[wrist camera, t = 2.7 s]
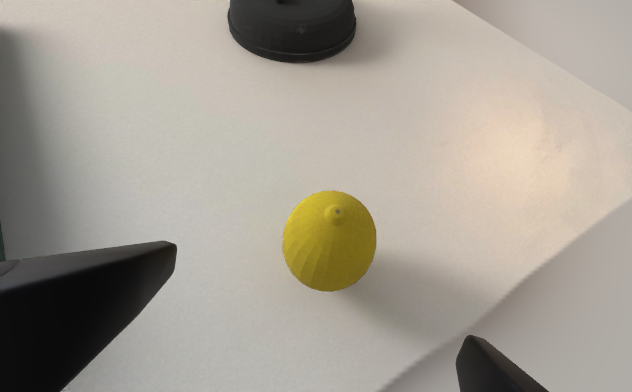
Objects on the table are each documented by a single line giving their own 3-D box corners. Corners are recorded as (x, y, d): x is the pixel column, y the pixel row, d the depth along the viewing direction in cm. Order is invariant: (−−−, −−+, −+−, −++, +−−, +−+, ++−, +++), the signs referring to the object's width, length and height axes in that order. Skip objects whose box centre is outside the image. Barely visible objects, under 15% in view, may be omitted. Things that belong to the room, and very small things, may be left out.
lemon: (362, 304, 20) (400, 270, 13) (280, 301, 19) (274, 264, 13) (358, 229, 23) (387, 168, 16) (287, 225, 22) (284, 162, 15)
